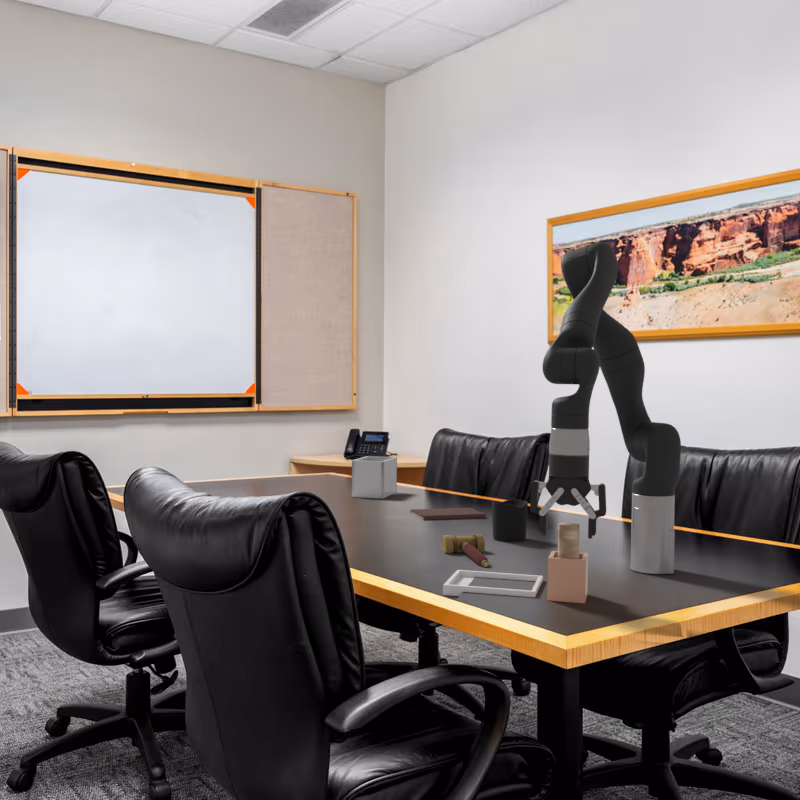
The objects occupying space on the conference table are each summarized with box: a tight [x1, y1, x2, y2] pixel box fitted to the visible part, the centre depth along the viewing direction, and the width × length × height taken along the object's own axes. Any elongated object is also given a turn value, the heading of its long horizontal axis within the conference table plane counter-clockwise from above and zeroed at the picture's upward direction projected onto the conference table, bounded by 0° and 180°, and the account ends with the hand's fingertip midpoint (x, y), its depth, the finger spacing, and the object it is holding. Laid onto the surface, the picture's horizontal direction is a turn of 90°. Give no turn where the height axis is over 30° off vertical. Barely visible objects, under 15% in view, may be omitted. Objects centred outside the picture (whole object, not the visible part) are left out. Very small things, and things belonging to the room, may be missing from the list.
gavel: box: [440, 533, 490, 568], centre depth 204 cm, size 21×5×10 cm
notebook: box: [409, 507, 487, 521], centre depth 268 cm, size 15×20×2 cm
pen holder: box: [491, 499, 529, 543], centre depth 229 cm, size 9×9×10 cm
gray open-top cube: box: [351, 455, 398, 499], centre depth 313 cm, size 12×18×13 cm, turn 165°
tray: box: [442, 569, 544, 598], centre depth 174 cm, size 18×14×2 cm
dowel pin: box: [557, 522, 580, 559], centre depth 165 cm, size 4×4×14 cm
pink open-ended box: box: [546, 550, 589, 604], centre depth 165 cm, size 7×7×9 cm
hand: (567, 536), depth 165 cm, fingers open, 8 cm apart
